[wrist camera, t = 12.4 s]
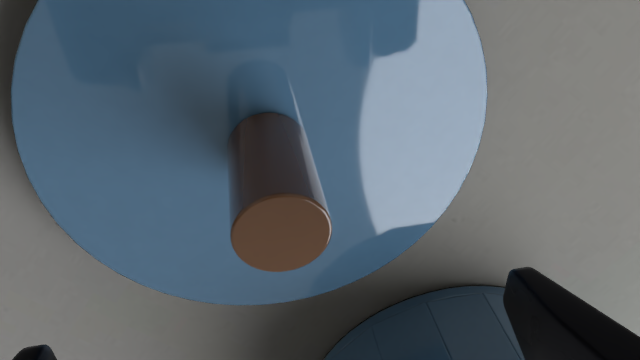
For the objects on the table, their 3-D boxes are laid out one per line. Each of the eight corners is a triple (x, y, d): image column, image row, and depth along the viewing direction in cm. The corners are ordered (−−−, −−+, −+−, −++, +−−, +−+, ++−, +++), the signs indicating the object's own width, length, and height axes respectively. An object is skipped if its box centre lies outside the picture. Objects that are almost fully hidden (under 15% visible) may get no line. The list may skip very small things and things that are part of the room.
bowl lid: (103, 309, 19) (72, 442, 15) (-74, -101, 11) (-239, -58, 7) (449, 255, 21) (508, 363, 17) (506, -139, 13) (644, -121, 9)
